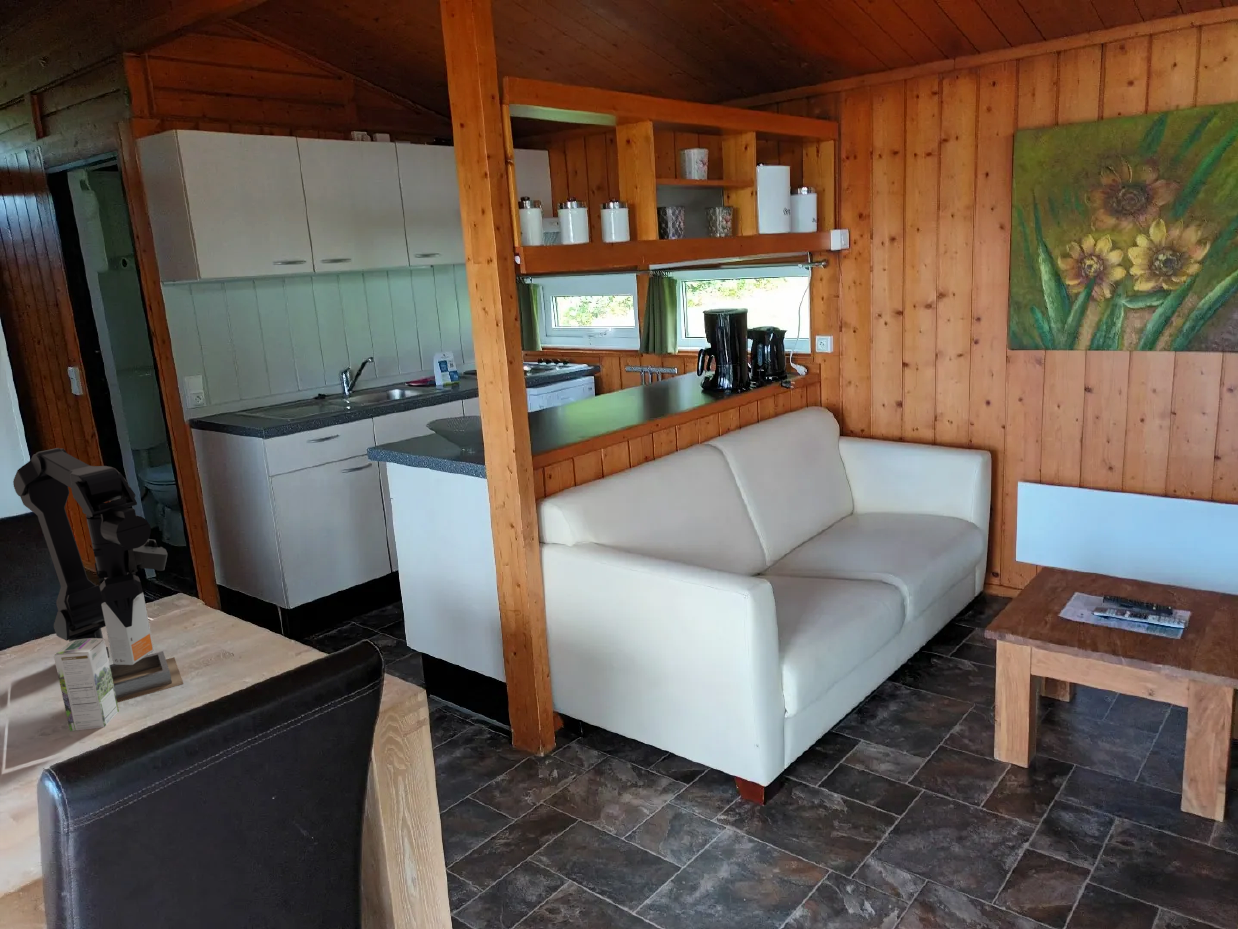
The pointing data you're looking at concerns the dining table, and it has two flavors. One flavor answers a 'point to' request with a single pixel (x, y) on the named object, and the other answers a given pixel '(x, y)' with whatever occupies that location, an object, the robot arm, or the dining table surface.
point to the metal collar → (142, 681)
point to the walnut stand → (172, 667)
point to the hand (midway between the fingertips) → (126, 620)
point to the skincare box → (129, 634)
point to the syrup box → (86, 683)
